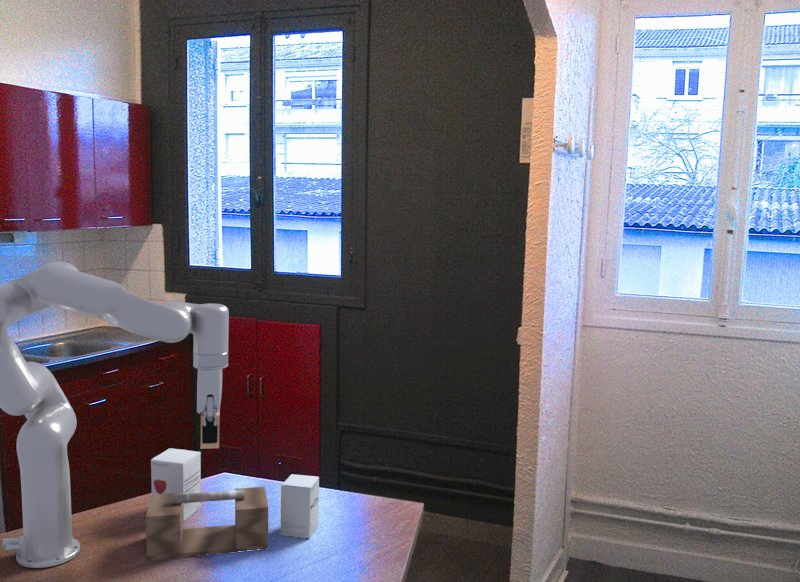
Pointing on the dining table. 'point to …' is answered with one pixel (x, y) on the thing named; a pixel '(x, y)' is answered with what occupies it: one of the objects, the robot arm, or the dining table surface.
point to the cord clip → (216, 445)
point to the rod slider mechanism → (177, 542)
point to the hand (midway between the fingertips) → (209, 437)
